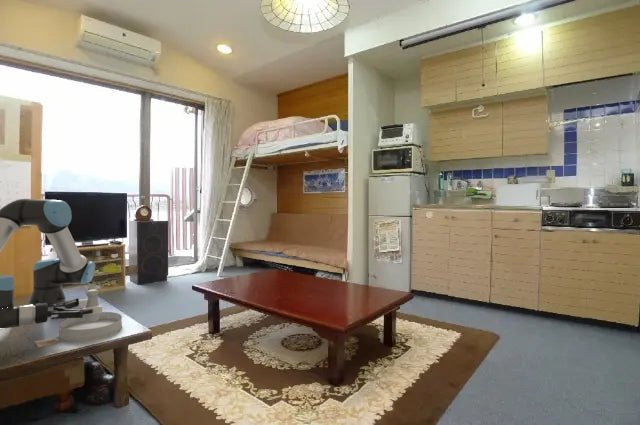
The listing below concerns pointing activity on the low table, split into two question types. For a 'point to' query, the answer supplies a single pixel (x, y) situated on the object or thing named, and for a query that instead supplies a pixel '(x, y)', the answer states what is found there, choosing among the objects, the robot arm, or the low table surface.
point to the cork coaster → (46, 342)
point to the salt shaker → (92, 305)
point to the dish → (90, 327)
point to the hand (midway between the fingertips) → (99, 304)
